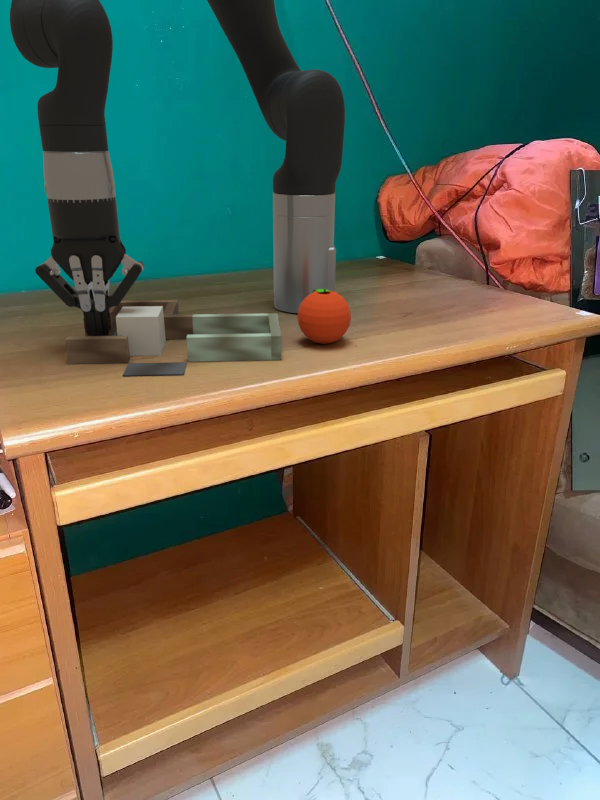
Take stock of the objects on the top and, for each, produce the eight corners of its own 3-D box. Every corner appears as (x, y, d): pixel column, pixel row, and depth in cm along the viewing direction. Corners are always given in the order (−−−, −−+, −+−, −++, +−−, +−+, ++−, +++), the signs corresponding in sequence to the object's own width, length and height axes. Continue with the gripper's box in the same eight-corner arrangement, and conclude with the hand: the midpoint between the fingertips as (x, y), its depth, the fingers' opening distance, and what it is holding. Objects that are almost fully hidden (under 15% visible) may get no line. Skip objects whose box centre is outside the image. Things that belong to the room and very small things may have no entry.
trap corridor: (274, 318, 93) (274, 298, 92) (283, 373, 72) (283, 348, 71) (101, 321, 91) (98, 300, 90) (57, 377, 70) (53, 352, 69)
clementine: (286, 335, 86) (286, 283, 83) (333, 330, 88) (334, 279, 85) (309, 353, 79) (310, 297, 76) (359, 347, 81) (361, 292, 78)
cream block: (165, 343, 82) (162, 306, 80) (161, 356, 78) (157, 316, 76) (126, 344, 82) (123, 306, 80) (120, 356, 77) (115, 317, 75)
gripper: (144, 191, 76) (156, 329, 83) (32, 191, 75) (54, 331, 82) (134, 196, 69) (148, 347, 76) (10, 197, 68) (36, 349, 75)
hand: (99, 338), depth 79 cm, fingers closed
